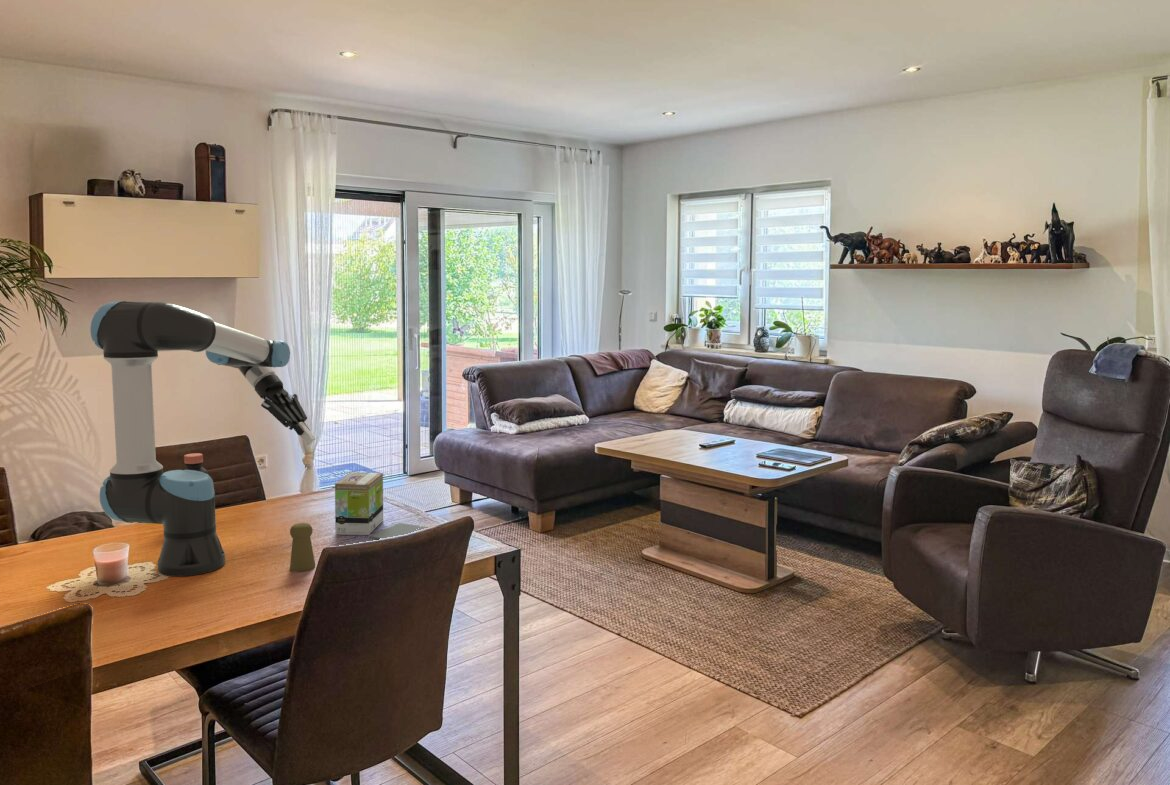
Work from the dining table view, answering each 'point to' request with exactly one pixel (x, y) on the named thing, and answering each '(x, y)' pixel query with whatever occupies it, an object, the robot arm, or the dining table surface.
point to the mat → (396, 531)
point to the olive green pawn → (301, 548)
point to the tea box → (358, 503)
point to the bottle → (194, 462)
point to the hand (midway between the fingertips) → (311, 441)
